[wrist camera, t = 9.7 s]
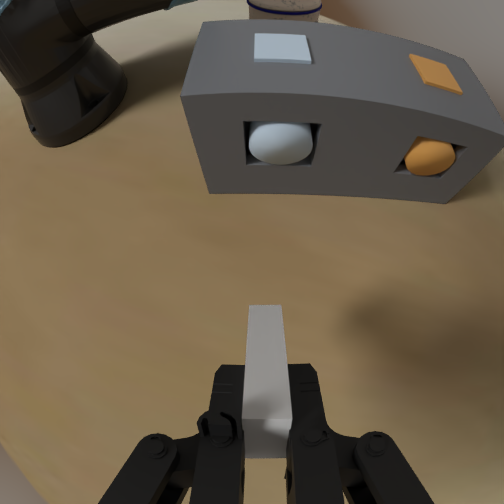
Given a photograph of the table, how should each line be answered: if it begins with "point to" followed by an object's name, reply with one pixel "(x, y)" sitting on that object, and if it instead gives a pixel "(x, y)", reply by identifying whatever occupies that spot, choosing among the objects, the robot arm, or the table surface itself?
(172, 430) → the table surface
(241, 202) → the table surface
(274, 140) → the pale blue button
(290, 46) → the button console
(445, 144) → the orange button
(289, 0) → the teacup with lid
